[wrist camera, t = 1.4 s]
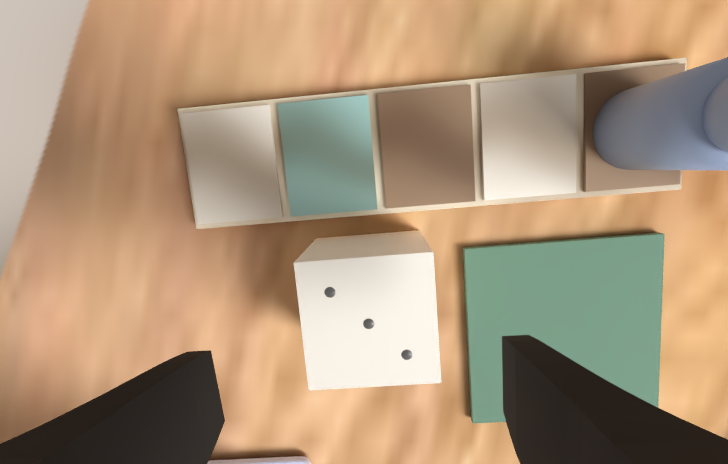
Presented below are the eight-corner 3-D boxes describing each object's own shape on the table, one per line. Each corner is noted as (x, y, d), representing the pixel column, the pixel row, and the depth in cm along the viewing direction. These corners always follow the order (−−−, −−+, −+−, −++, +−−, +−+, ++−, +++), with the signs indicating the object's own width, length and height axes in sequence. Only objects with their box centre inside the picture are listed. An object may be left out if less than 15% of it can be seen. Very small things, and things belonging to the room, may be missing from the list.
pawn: (673, 166, 17) (875, 164, 10) (592, 172, 17) (736, 176, 10) (676, 84, 16) (893, 22, 9) (593, 92, 16) (745, 37, 10)
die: (425, 328, 19) (441, 383, 14) (326, 334, 20) (308, 391, 15) (419, 229, 19) (433, 252, 14) (316, 237, 19) (293, 263, 14)
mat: (652, 408, 19) (657, 413, 19) (470, 418, 20) (472, 423, 19) (658, 232, 18) (664, 233, 18) (462, 247, 18) (464, 249, 18)
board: (670, 188, 18) (684, 189, 17) (202, 227, 19) (194, 229, 18) (675, 61, 17) (690, 56, 16) (184, 110, 18) (174, 108, 17)
